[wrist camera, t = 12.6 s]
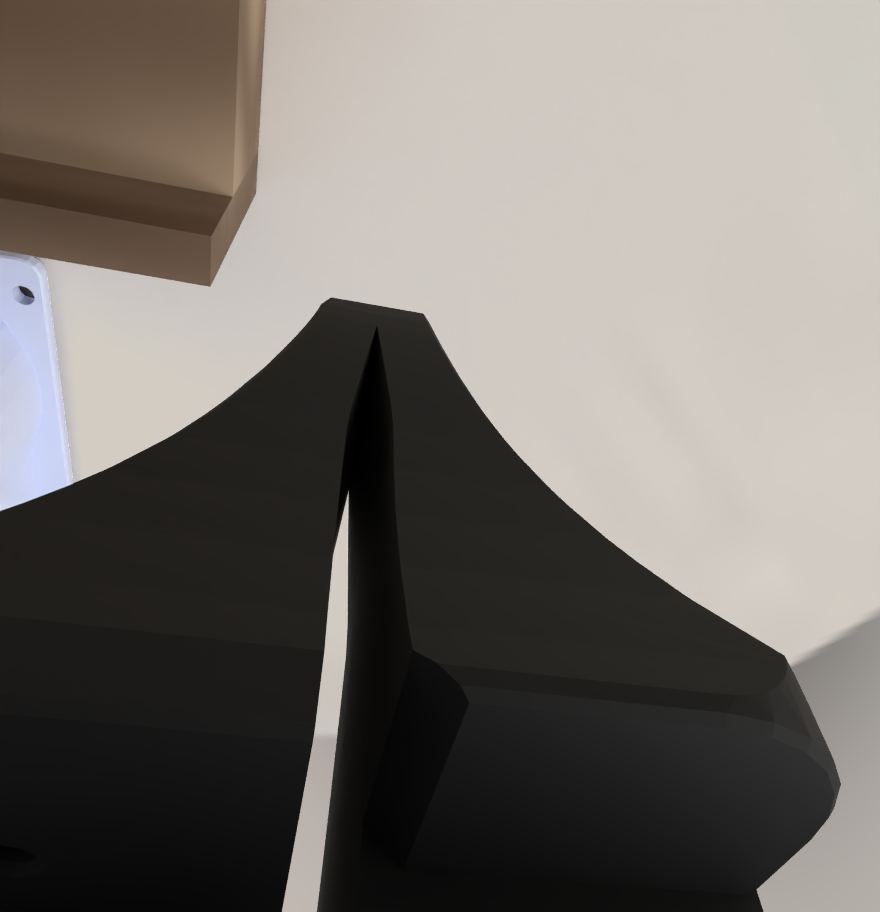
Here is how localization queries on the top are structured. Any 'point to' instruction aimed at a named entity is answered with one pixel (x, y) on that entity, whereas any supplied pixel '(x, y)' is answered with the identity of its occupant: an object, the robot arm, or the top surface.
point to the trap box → (129, 131)
